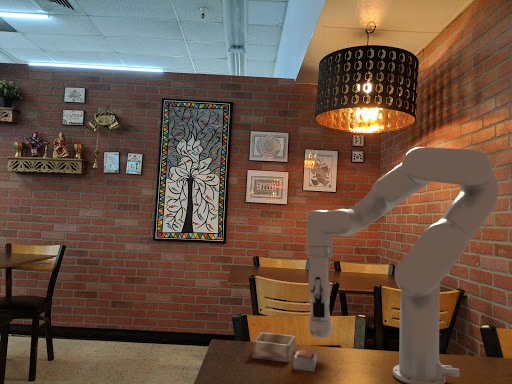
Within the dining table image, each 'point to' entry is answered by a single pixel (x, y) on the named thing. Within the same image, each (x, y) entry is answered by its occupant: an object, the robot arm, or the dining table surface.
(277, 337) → the bottle caddy
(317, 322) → the plastic bottle
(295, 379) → the dining table surface
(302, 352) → the button
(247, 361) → the dining table surface
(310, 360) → the button housing
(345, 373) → the dining table surface
